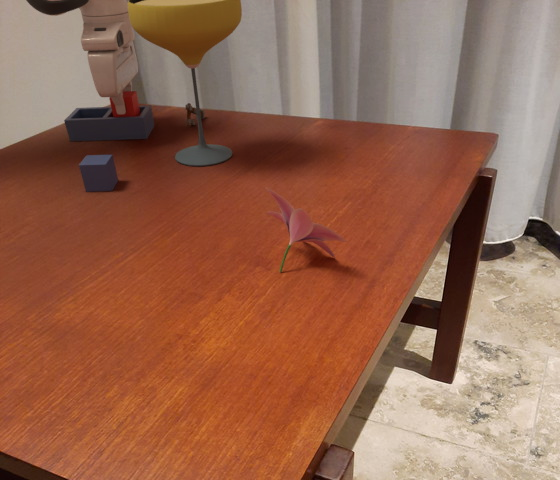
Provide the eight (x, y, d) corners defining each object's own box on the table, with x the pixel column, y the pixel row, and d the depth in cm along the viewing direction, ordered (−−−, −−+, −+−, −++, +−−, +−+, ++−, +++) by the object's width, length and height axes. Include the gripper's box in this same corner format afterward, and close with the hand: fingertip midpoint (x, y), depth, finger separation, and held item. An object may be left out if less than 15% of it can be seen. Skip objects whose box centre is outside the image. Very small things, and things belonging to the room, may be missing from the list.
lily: (347, 291, 69) (370, 214, 67) (261, 272, 65) (281, 188, 62) (310, 274, 80) (328, 206, 77) (234, 256, 75) (250, 184, 73)
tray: (146, 138, 113) (142, 117, 110) (69, 141, 113) (63, 120, 111) (154, 125, 119) (151, 105, 117) (81, 128, 120) (76, 107, 117)
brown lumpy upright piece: (182, 125, 115) (182, 102, 114) (196, 130, 123) (196, 108, 121) (190, 126, 115) (190, 102, 114) (204, 130, 122) (204, 108, 121)
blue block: (85, 191, 93) (78, 165, 90) (93, 181, 97) (86, 155, 94) (112, 191, 93) (105, 164, 90) (118, 180, 97) (112, 154, 94)
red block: (114, 121, 113) (109, 97, 110) (119, 115, 116) (114, 91, 113) (136, 121, 112) (131, 97, 110) (140, 114, 116) (136, 91, 113)
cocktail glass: (233, 177, 96) (217, 6, 79) (139, 170, 100) (105, 6, 83) (263, 142, 109) (254, -12, 92) (178, 137, 113) (155, -11, 96)
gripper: (107, 21, 112) (122, 95, 121) (77, 42, 97) (97, 125, 106) (137, 20, 112) (150, 94, 121) (113, 41, 96) (129, 124, 105)
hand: (125, 109), depth 113 cm, fingers closed on red block, 4 cm apart
